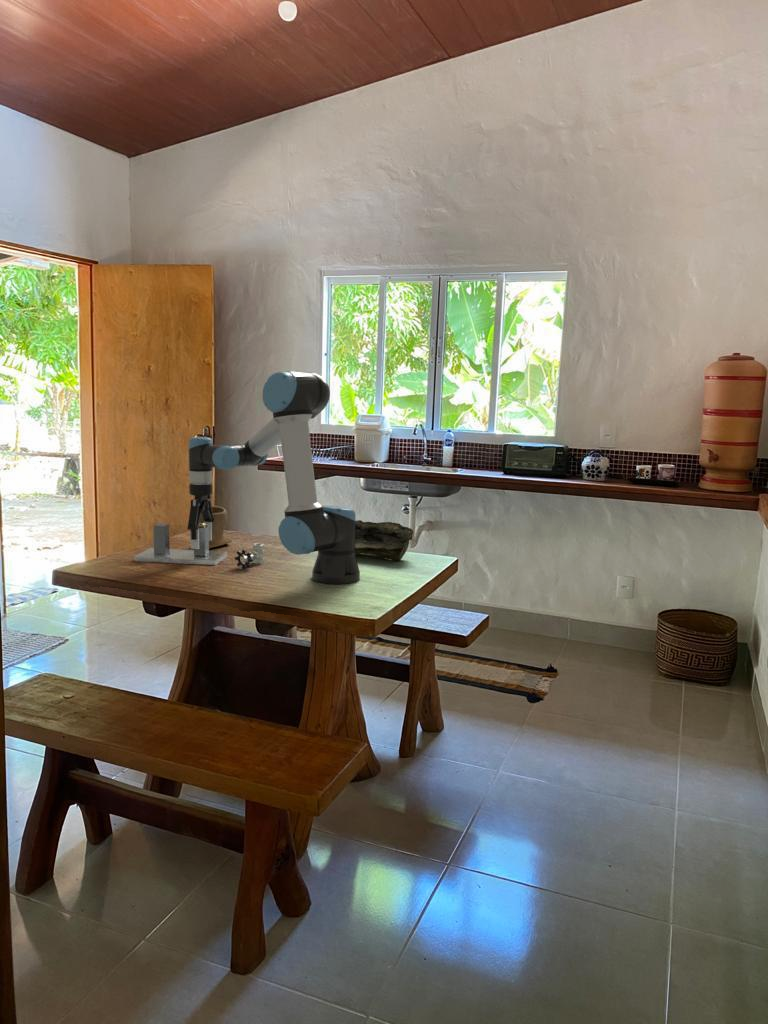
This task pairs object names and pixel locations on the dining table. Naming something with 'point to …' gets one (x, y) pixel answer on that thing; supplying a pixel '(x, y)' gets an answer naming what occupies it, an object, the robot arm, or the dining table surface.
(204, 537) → the block
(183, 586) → the dining table surface
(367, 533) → the rock
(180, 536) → the dining table surface
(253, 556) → the valve
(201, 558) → the grey base with knobs
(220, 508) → the stone cup
